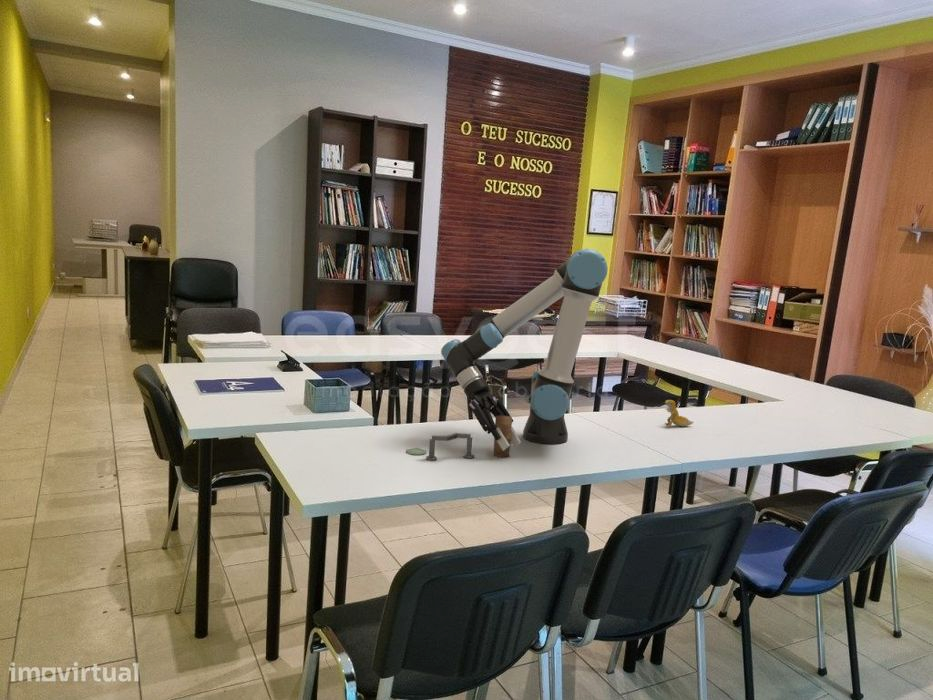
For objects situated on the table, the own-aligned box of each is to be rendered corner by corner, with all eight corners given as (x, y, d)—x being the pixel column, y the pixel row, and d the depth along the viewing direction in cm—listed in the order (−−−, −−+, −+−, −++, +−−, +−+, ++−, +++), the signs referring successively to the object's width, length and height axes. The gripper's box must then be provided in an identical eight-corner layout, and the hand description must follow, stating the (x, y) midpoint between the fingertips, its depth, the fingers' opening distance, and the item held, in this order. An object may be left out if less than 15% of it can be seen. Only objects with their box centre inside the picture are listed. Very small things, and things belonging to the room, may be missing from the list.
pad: (426, 450, 207) (426, 448, 206) (425, 455, 201) (425, 454, 201) (407, 448, 207) (407, 447, 206) (405, 454, 201) (405, 453, 201)
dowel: (509, 453, 208) (511, 415, 206) (509, 458, 203) (512, 419, 201) (492, 452, 208) (495, 415, 206) (493, 457, 203) (495, 419, 201)
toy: (649, 416, 256) (663, 394, 254) (680, 429, 261) (693, 408, 259) (657, 424, 250) (672, 401, 248) (688, 437, 255) (702, 415, 253)
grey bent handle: (470, 454, 204) (471, 431, 203) (475, 458, 201) (477, 435, 200) (424, 457, 198) (425, 434, 197) (429, 461, 195) (430, 438, 194)
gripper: (484, 387, 219) (521, 447, 211) (447, 394, 206) (486, 458, 197) (497, 374, 215) (536, 434, 207) (461, 380, 201) (501, 445, 193)
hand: (511, 446), depth 202 cm, fingers closed on dowel, 5 cm apart
